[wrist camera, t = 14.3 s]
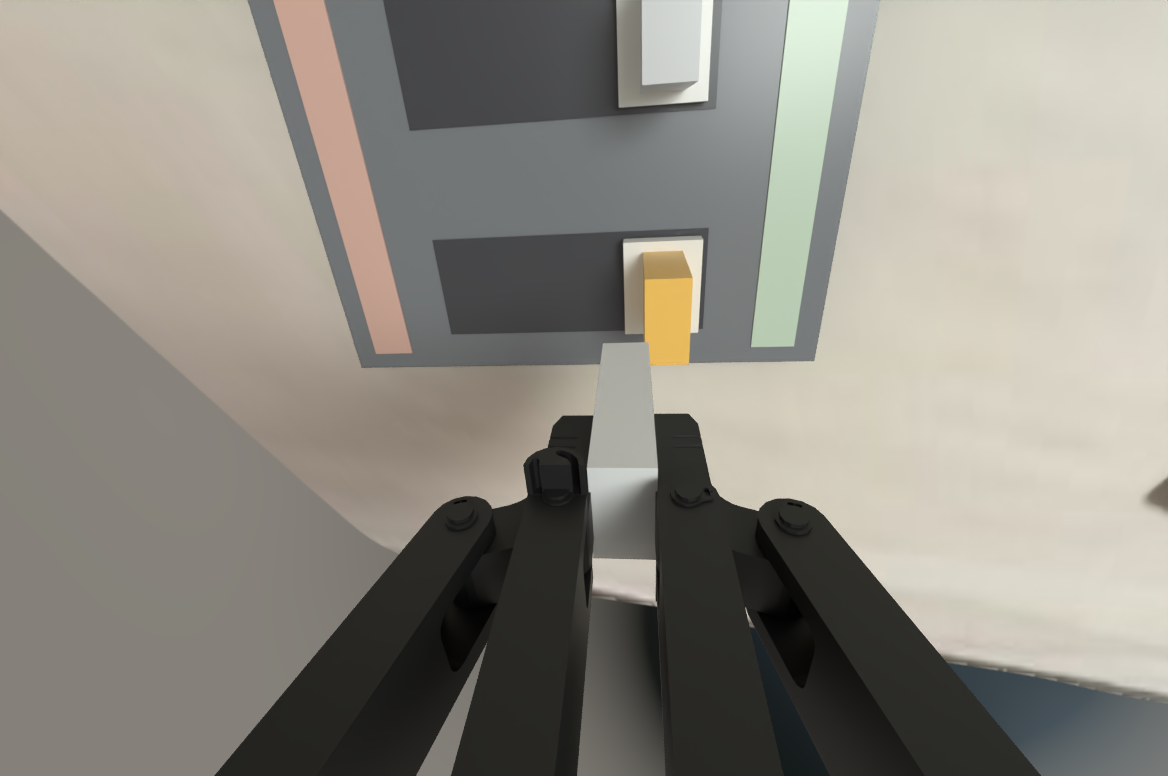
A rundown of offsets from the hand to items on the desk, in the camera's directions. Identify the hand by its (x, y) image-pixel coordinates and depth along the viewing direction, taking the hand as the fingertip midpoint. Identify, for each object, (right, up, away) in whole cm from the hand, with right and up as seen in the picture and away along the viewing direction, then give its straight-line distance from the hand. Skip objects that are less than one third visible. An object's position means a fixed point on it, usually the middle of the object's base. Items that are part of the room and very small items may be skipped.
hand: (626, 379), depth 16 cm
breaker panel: (-2, +11, +11) cm, 16 cm away
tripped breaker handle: (+3, +5, +10) cm, 12 cm away
